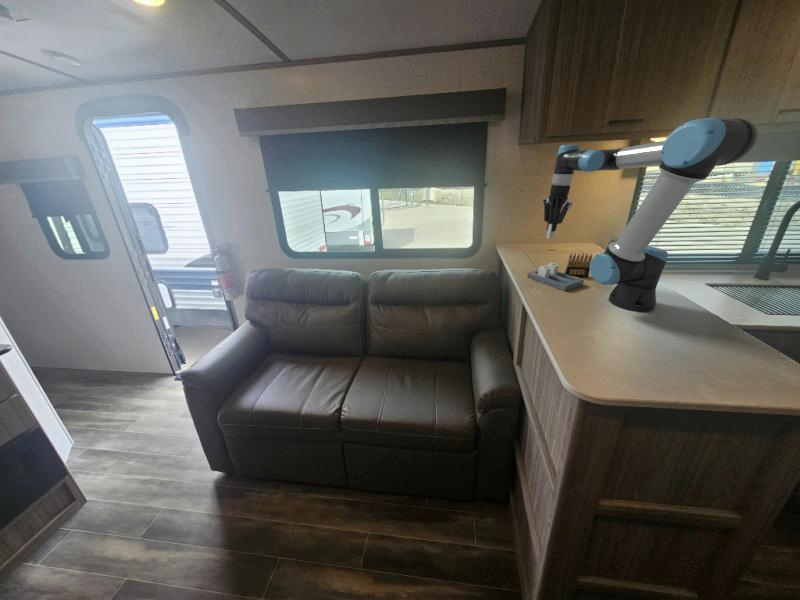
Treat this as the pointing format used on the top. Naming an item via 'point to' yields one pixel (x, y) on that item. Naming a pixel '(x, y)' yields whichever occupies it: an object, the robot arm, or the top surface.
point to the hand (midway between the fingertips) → (549, 237)
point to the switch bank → (557, 280)
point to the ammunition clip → (578, 266)
